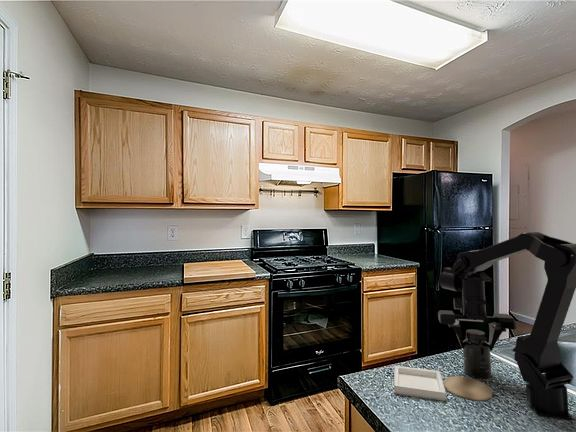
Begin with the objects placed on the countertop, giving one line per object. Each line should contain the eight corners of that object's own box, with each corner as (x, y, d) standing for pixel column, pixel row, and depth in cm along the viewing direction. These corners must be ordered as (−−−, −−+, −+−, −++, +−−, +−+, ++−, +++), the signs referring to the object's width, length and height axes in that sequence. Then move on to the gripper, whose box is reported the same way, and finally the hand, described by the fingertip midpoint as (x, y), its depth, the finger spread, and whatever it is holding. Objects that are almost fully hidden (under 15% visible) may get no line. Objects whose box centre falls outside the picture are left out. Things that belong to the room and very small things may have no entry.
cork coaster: (485, 381, 83) (485, 379, 83) (498, 403, 73) (498, 401, 73) (441, 376, 87) (441, 374, 87) (447, 396, 77) (446, 393, 77)
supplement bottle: (458, 370, 90) (456, 329, 91) (476, 367, 92) (473, 326, 93) (479, 381, 83) (476, 337, 84) (497, 377, 85) (495, 334, 86)
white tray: (439, 378, 86) (439, 371, 86) (446, 401, 74) (445, 392, 75) (395, 372, 90) (394, 365, 90) (394, 393, 79) (394, 385, 79)
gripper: (502, 290, 93) (505, 342, 92) (435, 288, 99) (437, 336, 99) (515, 298, 83) (518, 357, 82) (439, 295, 89) (442, 349, 88)
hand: (476, 349), depth 88 cm, fingers open, 7 cm apart
